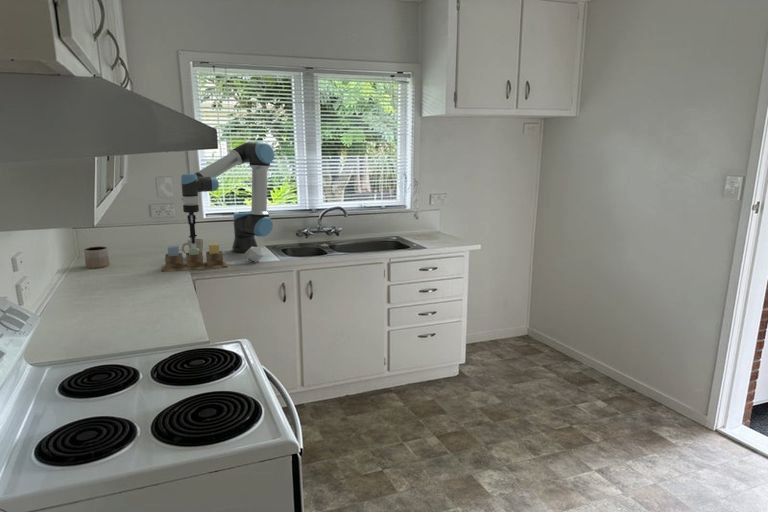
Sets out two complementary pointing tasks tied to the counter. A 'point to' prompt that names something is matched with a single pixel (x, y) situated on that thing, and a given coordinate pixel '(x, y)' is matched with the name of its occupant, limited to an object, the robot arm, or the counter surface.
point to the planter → (96, 257)
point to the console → (193, 262)
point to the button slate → (173, 250)
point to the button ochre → (213, 248)
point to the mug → (198, 245)
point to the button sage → (194, 251)
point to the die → (254, 254)
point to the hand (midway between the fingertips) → (193, 249)
